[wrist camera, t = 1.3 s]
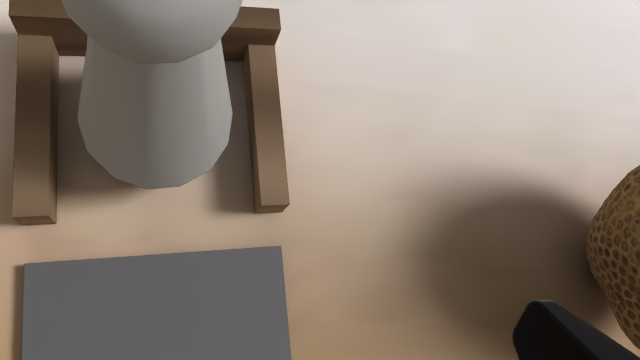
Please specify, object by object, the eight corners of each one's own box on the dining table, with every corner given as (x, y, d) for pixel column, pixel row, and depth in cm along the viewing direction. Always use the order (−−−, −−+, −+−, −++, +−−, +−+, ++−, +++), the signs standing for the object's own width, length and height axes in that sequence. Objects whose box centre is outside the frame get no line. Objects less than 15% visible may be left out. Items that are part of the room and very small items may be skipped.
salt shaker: (242, 106, 25) (319, -106, 13) (198, 220, 23) (240, 97, 11) (118, 57, 24) (73, -225, 12) (61, 172, 22) (-63, -23, 10)
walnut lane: (281, 212, 24) (297, 196, 21) (22, 225, 21) (0, 209, 18) (266, 43, 26) (278, 9, 23) (28, 32, 23) (9, -9, 20)
